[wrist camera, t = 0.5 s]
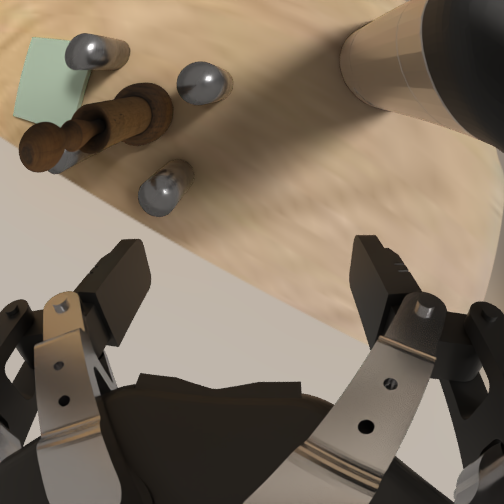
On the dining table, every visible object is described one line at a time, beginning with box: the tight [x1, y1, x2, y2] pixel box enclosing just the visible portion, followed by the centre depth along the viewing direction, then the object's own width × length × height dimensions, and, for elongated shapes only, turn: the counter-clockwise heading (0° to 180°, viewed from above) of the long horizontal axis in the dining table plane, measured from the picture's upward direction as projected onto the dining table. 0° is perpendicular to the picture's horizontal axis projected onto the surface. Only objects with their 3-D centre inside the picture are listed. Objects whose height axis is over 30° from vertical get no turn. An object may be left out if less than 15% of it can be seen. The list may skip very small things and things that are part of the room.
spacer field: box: [48, 33, 233, 217], centre depth 24 cm, size 14×16×7 cm
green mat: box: [13, 37, 92, 128], centre depth 24 cm, size 11×12×1 cm
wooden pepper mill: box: [19, 83, 173, 172], centre depth 19 cm, size 7×6×18 cm
